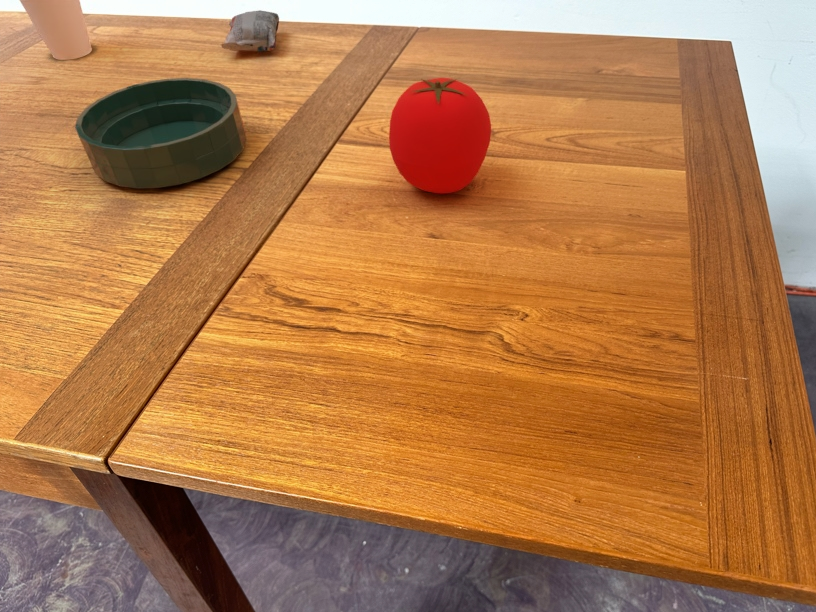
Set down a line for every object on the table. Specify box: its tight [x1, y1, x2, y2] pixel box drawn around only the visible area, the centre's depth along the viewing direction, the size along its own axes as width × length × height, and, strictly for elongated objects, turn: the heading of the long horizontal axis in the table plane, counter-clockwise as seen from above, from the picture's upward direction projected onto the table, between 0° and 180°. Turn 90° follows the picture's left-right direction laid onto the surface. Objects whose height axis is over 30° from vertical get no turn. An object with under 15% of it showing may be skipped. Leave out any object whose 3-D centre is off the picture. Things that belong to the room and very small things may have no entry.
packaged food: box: [220, 9, 280, 52], centre depth 112 cm, size 9×12×5 cm
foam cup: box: [19, 0, 93, 61], centre depth 109 cm, size 10×9×13 cm
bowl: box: [74, 77, 247, 189], centre depth 85 cm, size 19×19×6 cm
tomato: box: [388, 77, 492, 194], centre depth 76 cm, size 12×12×13 cm
